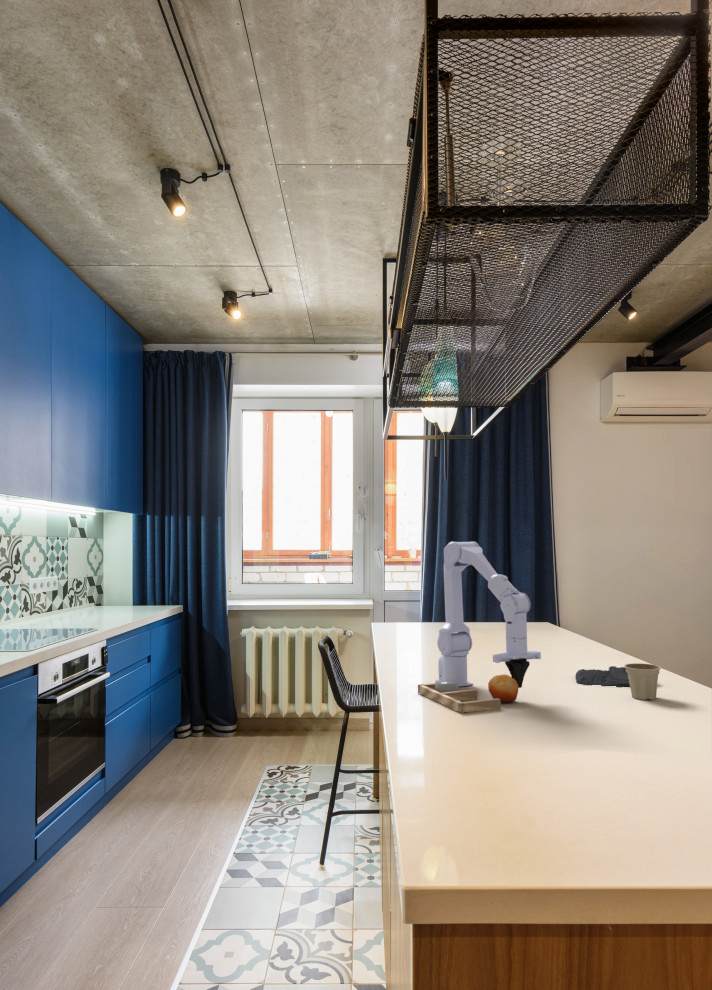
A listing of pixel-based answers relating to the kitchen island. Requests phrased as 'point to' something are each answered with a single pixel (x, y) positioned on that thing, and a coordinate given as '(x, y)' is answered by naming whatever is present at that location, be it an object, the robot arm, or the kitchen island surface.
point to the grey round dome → (446, 686)
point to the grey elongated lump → (604, 677)
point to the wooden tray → (453, 699)
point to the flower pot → (643, 680)
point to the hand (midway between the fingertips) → (517, 687)
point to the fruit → (503, 688)
